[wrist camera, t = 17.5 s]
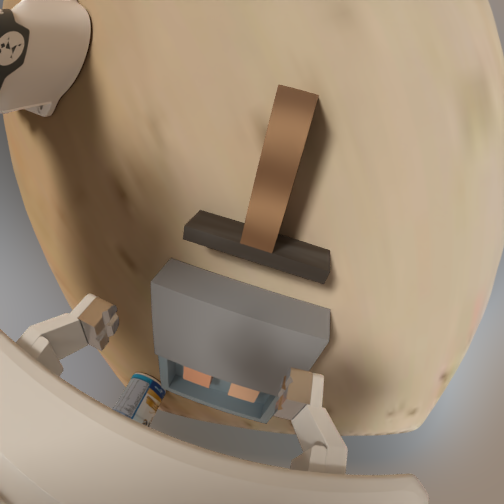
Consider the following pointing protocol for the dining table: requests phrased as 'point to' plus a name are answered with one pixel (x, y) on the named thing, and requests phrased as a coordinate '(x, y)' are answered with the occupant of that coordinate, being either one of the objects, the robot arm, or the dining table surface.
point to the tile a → (197, 377)
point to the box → (215, 394)
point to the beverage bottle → (141, 398)
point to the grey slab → (233, 327)
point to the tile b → (243, 393)
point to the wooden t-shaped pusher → (270, 198)
